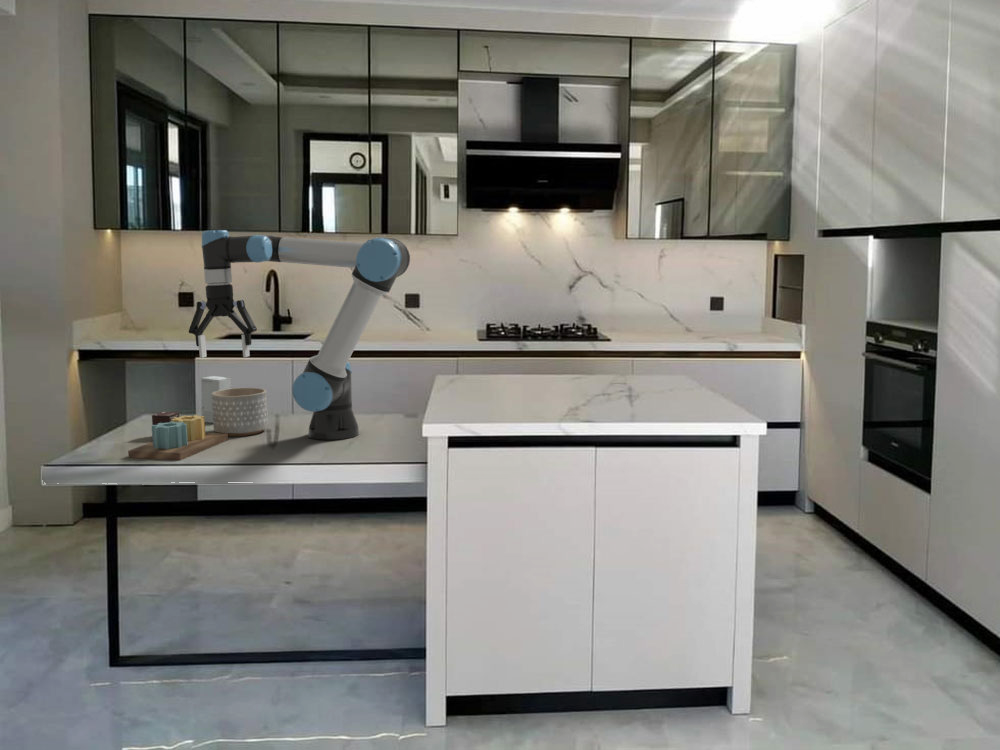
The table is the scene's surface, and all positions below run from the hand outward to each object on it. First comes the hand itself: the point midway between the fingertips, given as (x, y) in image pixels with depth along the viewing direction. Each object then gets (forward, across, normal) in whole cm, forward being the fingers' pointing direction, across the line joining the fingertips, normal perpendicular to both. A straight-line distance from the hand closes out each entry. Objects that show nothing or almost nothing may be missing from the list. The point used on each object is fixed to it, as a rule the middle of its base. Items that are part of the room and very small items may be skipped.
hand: (224, 357), depth 272 cm
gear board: (+25, +12, +9) cm, 29 cm away
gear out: (+23, +11, +4) cm, 26 cm away
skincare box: (+25, +20, -30) cm, 44 cm away
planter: (+26, +5, -16) cm, 31 cm away
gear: (+23, +12, +14) cm, 30 cm away
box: (+25, +24, -6) cm, 35 cm away
